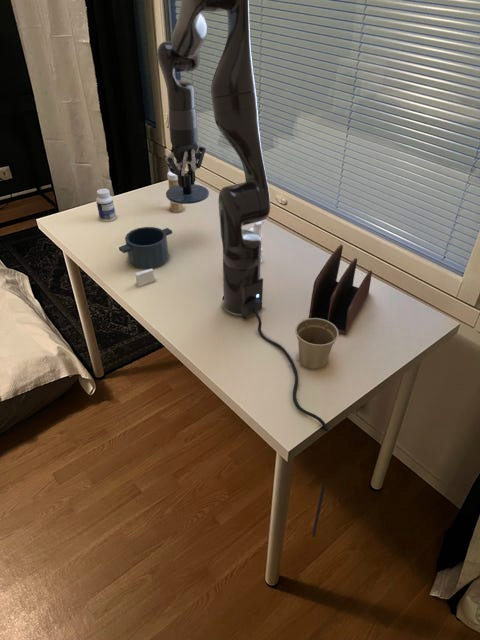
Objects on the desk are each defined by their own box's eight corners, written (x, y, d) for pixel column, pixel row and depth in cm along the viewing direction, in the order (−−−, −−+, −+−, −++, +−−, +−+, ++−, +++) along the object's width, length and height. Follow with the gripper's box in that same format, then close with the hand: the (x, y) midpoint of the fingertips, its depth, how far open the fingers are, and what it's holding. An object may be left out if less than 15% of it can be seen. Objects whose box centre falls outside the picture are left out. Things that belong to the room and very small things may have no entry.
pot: (183, 255, 149) (181, 233, 144) (135, 277, 140) (132, 254, 135) (160, 241, 156) (158, 220, 151) (113, 261, 146) (109, 239, 142)
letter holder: (307, 324, 124) (312, 276, 115) (333, 284, 137) (340, 239, 129) (345, 336, 120) (354, 288, 111) (369, 294, 134) (378, 248, 125)
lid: (217, 197, 147) (217, 175, 143) (184, 209, 140) (182, 187, 136) (190, 184, 154) (189, 163, 150) (157, 195, 147) (155, 174, 143)
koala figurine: (256, 251, 151) (257, 215, 144) (271, 260, 147) (273, 223, 140) (234, 261, 147) (234, 224, 139) (250, 270, 143) (250, 233, 135)
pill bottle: (99, 215, 169) (93, 188, 163) (114, 213, 171) (110, 186, 164) (100, 222, 165) (95, 195, 159) (116, 220, 167) (112, 193, 160)
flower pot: (329, 346, 117) (334, 317, 112) (337, 374, 110) (342, 344, 105) (290, 346, 117) (292, 318, 112) (295, 375, 110) (298, 345, 104)
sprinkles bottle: (178, 205, 175) (176, 168, 167) (186, 210, 173) (183, 172, 164) (167, 209, 173) (164, 172, 165) (175, 214, 170) (172, 176, 162)
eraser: (154, 281, 138) (153, 270, 136) (138, 286, 136) (136, 275, 134) (152, 279, 139) (151, 268, 137) (136, 284, 137) (134, 273, 135)
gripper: (170, 133, 128) (175, 196, 139) (211, 122, 136) (213, 182, 146) (153, 126, 132) (159, 188, 143) (194, 116, 140) (197, 175, 151)
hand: (187, 185), depth 145 cm, fingers closed on lid, 2 cm apart
